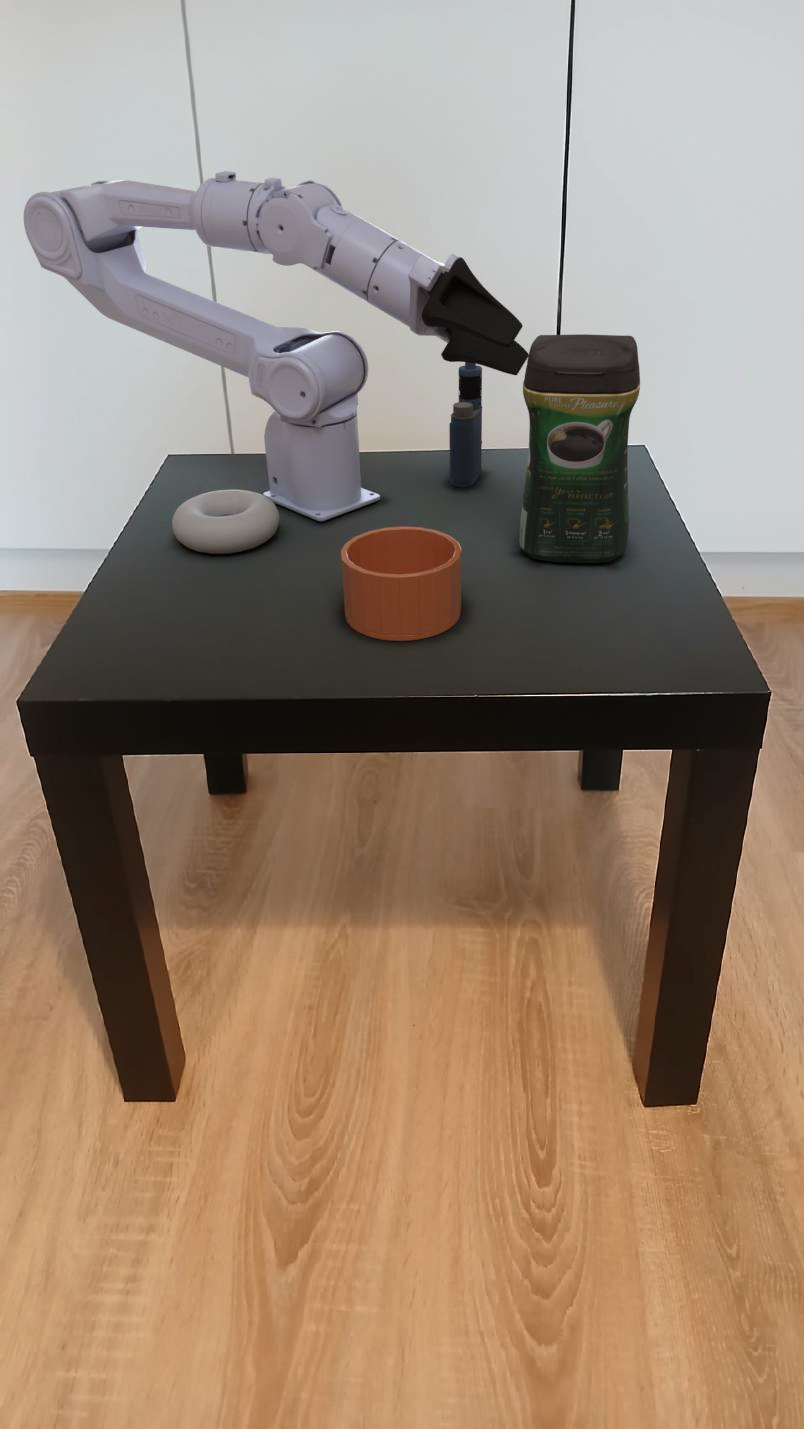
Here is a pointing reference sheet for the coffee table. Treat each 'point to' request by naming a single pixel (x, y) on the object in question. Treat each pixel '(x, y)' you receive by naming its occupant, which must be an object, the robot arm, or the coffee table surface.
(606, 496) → the coffee jar
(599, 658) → the coffee table surface
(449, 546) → the jar
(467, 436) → the vaping device
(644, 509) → the coffee table surface
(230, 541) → the donut
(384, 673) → the coffee table surface
